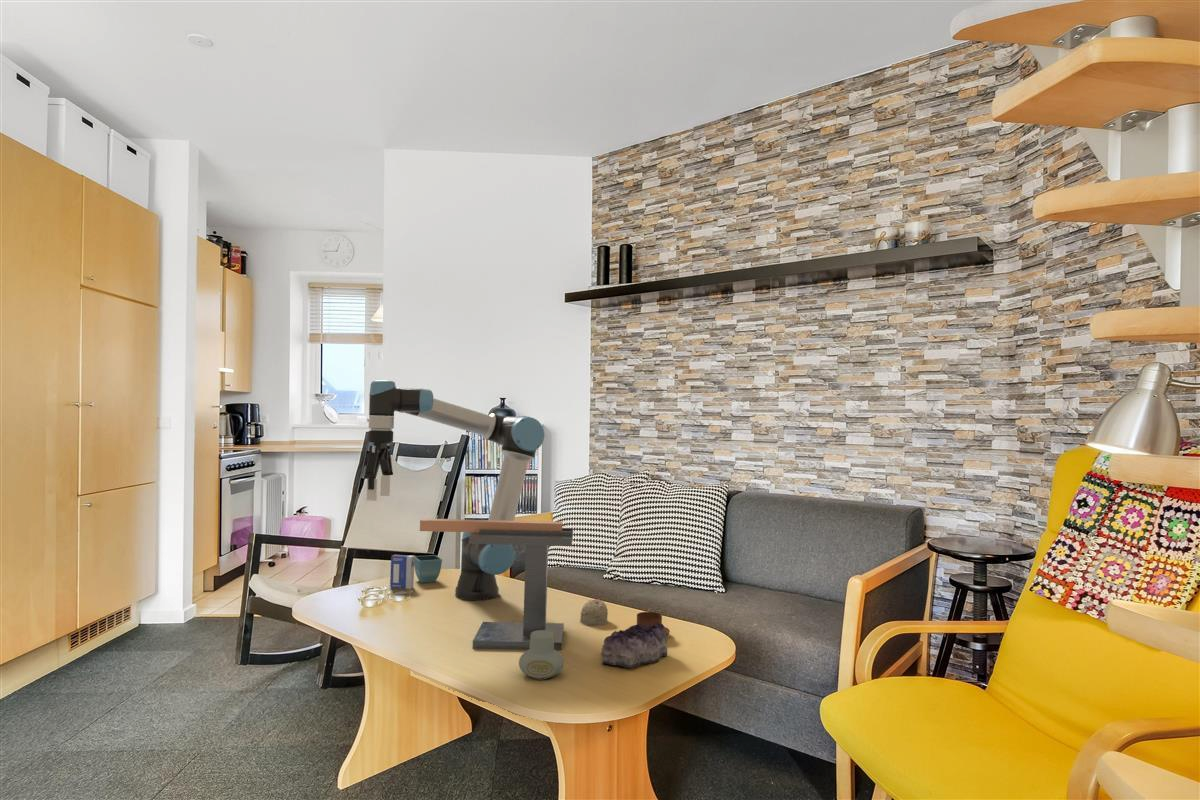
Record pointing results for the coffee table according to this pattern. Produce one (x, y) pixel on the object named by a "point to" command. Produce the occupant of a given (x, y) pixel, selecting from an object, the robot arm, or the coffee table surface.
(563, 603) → the coffee table surface
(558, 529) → the block
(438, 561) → the flower pot
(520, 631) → the stand
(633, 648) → the geode
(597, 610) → the beige rough dome
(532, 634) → the air freshener
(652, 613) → the cup and saucer
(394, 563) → the walkman
